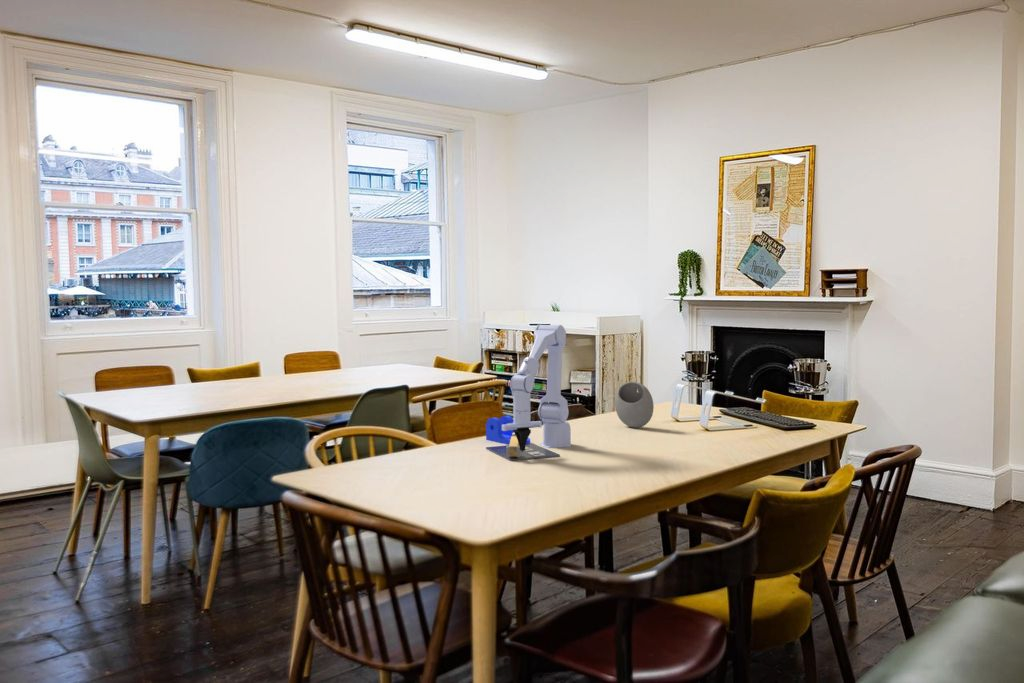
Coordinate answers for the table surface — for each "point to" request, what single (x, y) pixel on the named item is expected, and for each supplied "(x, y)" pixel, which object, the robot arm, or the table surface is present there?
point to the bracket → (499, 430)
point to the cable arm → (513, 447)
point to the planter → (634, 404)
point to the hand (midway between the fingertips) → (522, 450)
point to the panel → (524, 452)
